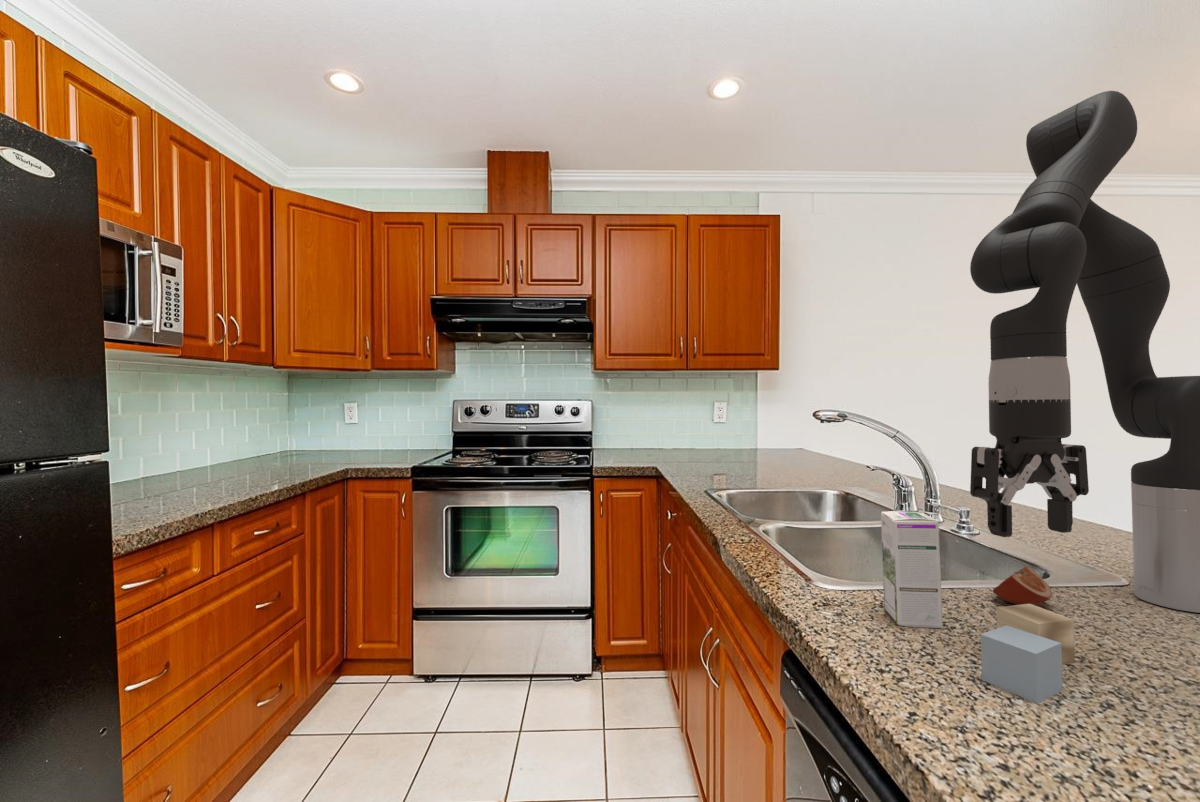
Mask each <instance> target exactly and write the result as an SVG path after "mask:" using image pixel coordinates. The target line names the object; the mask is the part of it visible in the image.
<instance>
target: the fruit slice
mask: <svg viewBox="0 0 1200 802" xmlns="http://www.w3.org/2000/svg"><path fill="white" fill-rule="evenodd" d="M992 592H993V593H994V594H995V595H996V596H997V597H999V598H1000V599H1001V600H1003V601H1004V602H1007V603H1010V604H1013V605H1022V604H1032V605H1038V604H1039V605H1040V604H1042V603H1045V602H1047V601H1048V600H1049V599H1051V598H1052V597H1053V591H1052V588H1051V587H1050V585H1049V584H1048V583H1047V582H1046V581H1045V580H1044V579H1043V578H1042V576H1040V575H1039V574H1038V573H1036V572H1035V570H1033V568H1031V567H1030V566H1029V565H1027V566H1026V565H1025V566H1024V567H1022V568H1020V569H1019V570H1018V571H1015V572H1014V573H1013V574H1011V575H1009V577H1007V578H1006V579H1004V580H1003V581H1002V582H1001V583H999V584H998V586H996V587H995V588H993V590H992Z"/></svg>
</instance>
